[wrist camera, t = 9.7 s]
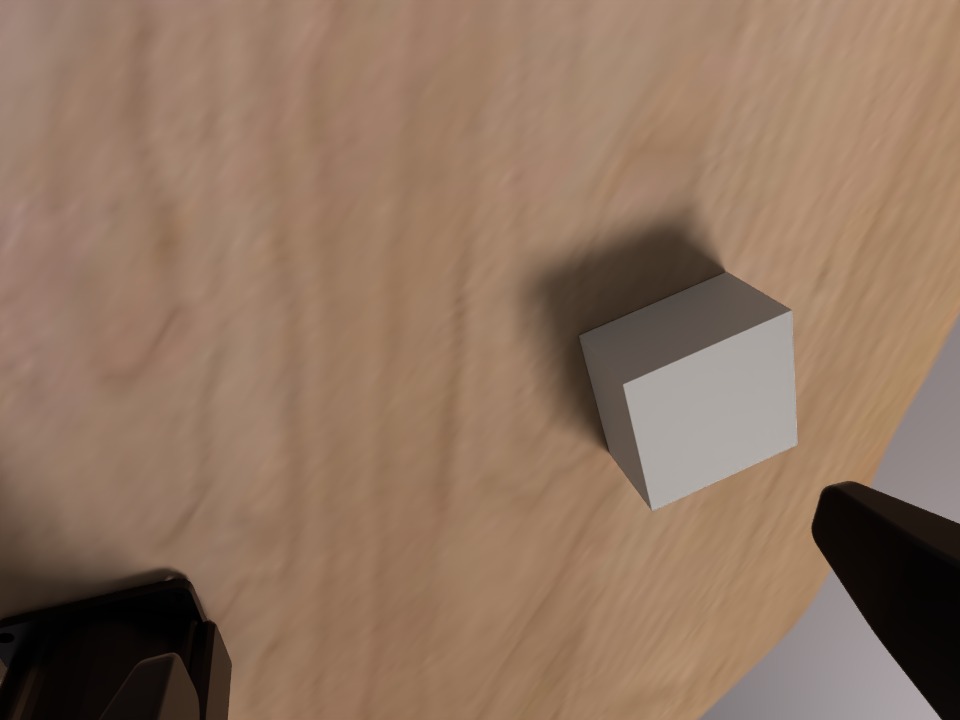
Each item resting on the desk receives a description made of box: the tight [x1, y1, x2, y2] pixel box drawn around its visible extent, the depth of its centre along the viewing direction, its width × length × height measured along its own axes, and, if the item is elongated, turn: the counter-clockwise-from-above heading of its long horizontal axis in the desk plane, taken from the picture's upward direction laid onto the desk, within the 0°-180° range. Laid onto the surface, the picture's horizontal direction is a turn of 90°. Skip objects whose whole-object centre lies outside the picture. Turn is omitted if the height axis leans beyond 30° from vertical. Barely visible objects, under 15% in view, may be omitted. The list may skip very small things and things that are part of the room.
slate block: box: [579, 272, 797, 511], centre depth 23 cm, size 6×6×4 cm
